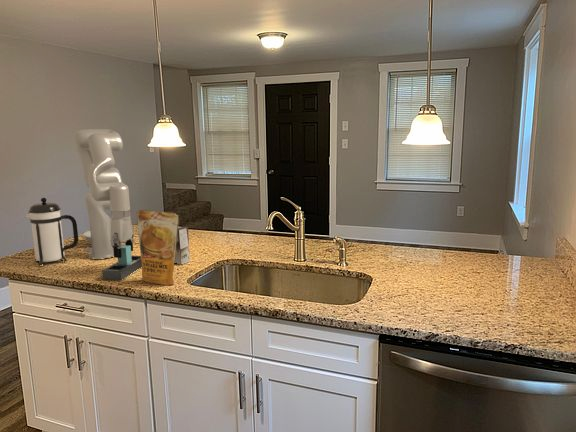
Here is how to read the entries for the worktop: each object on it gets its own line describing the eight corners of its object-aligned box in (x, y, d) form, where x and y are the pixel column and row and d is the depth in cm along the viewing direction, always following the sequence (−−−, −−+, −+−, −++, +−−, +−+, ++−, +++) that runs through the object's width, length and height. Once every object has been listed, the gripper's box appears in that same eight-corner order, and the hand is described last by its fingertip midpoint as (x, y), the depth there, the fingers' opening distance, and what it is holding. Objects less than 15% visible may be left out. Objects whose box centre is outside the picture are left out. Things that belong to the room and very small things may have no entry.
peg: (119, 273, 188) (116, 247, 186) (124, 270, 192) (121, 245, 190) (127, 273, 187) (125, 247, 185) (132, 270, 191) (130, 245, 189)
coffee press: (55, 267, 197) (48, 200, 192) (24, 266, 200) (16, 199, 195) (81, 257, 214) (74, 194, 208) (52, 255, 217) (44, 194, 211)
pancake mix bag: (147, 275, 183) (142, 208, 178) (184, 282, 175) (180, 211, 170) (135, 280, 177) (129, 211, 172) (172, 287, 169) (168, 214, 164)
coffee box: (191, 261, 203) (189, 227, 200) (181, 265, 197) (179, 229, 194) (175, 259, 207) (173, 225, 204) (165, 262, 202) (163, 228, 199)
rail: (102, 279, 179) (101, 269, 178) (129, 264, 200) (128, 255, 200) (121, 280, 178) (120, 270, 177) (146, 264, 199) (145, 255, 199)
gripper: (122, 210, 194) (125, 248, 197) (100, 218, 177) (104, 259, 180) (139, 210, 193) (141, 249, 196) (118, 219, 176) (121, 260, 179)
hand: (123, 254), depth 188 cm, fingers open, 9 cm apart
